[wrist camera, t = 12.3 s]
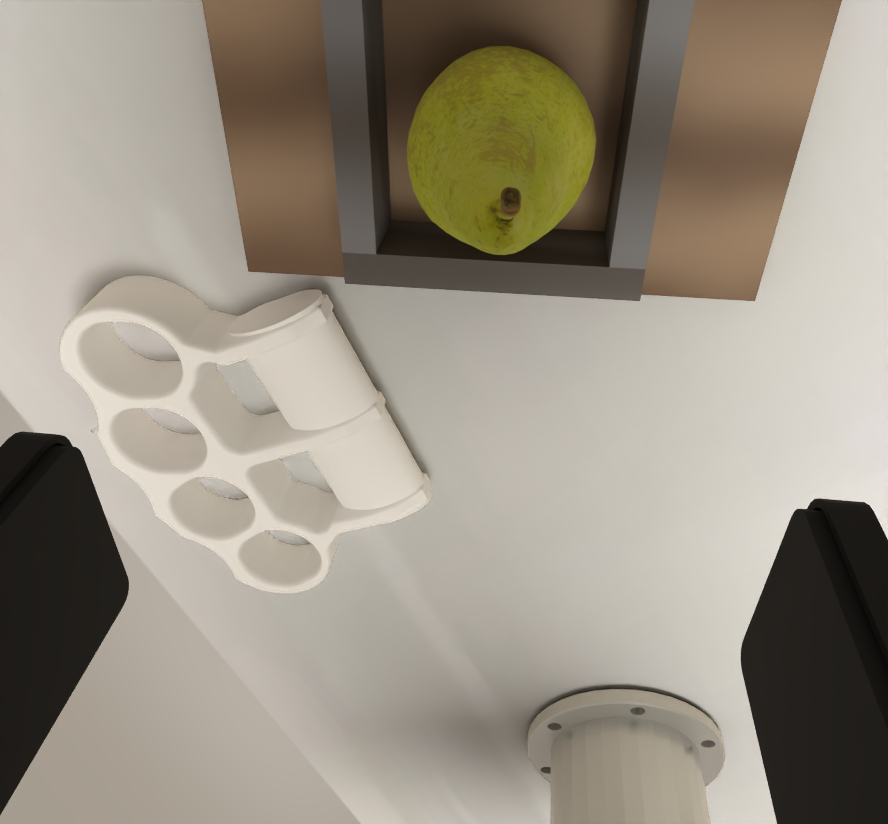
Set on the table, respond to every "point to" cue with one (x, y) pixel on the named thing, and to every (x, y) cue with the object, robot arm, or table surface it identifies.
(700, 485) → the table surface
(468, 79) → the fruit
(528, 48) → the socket board
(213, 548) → the knuckle duster
